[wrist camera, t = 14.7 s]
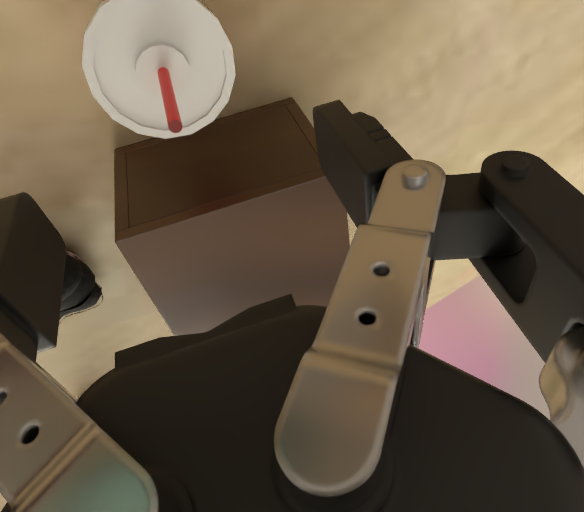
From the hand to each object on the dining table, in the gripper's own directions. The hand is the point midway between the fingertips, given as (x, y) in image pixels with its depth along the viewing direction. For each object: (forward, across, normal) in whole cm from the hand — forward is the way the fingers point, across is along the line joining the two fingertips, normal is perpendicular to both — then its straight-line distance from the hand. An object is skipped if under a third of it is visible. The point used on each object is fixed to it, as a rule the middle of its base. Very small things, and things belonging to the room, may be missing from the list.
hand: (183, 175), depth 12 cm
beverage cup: (+17, 0, 0) cm, 17 cm away
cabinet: (+17, -1, +15) cm, 23 cm away
